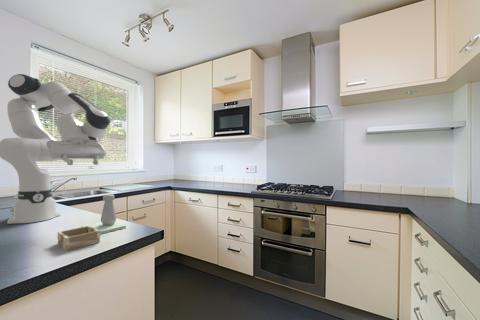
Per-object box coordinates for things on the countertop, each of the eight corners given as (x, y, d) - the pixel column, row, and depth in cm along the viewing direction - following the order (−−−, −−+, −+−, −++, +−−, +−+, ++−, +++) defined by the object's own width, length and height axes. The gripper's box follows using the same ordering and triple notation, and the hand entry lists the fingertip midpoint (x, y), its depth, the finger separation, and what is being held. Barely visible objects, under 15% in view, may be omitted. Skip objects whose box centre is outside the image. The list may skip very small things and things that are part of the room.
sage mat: (81, 228, 92) (81, 226, 92) (111, 221, 101) (111, 219, 101) (94, 235, 83) (94, 233, 83) (126, 227, 93) (126, 225, 93)
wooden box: (57, 243, 75) (57, 232, 75) (89, 236, 83) (89, 225, 83) (66, 250, 69) (66, 238, 69) (99, 241, 77) (99, 230, 77)
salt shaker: (97, 225, 93) (97, 195, 93) (109, 221, 98) (109, 193, 98) (107, 227, 90) (107, 196, 90) (119, 223, 96) (119, 194, 96)
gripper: (46, 134, 88) (54, 158, 83) (101, 138, 105) (111, 158, 100) (43, 145, 91) (51, 169, 85) (97, 148, 108) (106, 168, 102)
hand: (84, 163), depth 93 cm, fingers open, 8 cm apart
